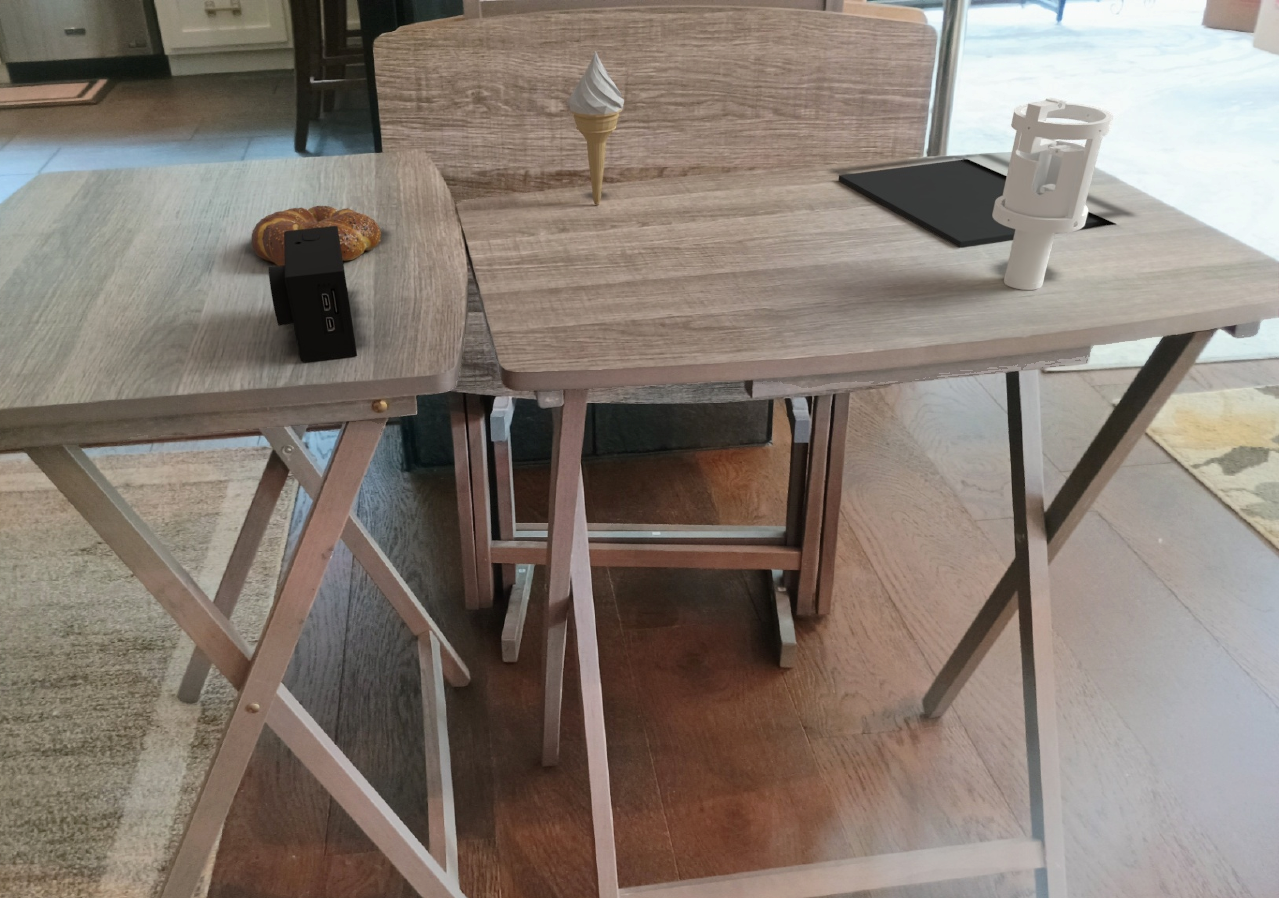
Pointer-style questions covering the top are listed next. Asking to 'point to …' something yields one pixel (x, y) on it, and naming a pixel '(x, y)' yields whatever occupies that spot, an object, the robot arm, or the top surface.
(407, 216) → the top surface
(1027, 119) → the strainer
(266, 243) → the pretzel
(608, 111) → the ice cream cone
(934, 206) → the mat
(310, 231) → the digital camera
